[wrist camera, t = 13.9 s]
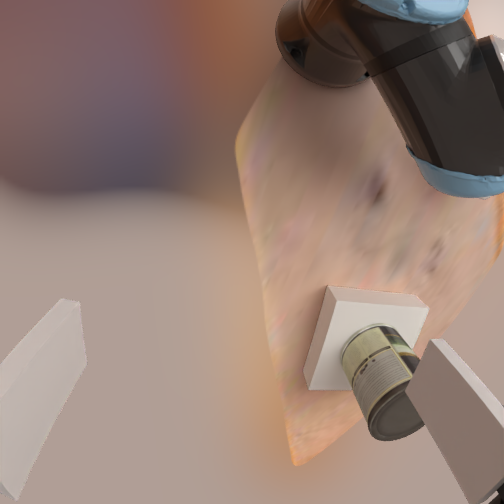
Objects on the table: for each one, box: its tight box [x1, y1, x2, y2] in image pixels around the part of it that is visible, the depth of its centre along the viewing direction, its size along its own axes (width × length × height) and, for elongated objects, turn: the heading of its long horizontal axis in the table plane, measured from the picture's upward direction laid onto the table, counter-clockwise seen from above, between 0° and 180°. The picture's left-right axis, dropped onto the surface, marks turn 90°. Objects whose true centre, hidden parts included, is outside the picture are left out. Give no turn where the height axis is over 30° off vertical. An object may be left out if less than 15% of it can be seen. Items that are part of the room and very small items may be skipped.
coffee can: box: [340, 323, 425, 441], centre depth 38 cm, size 10×10×14 cm
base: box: [303, 285, 429, 390], centre depth 47 cm, size 16×16×5 cm
